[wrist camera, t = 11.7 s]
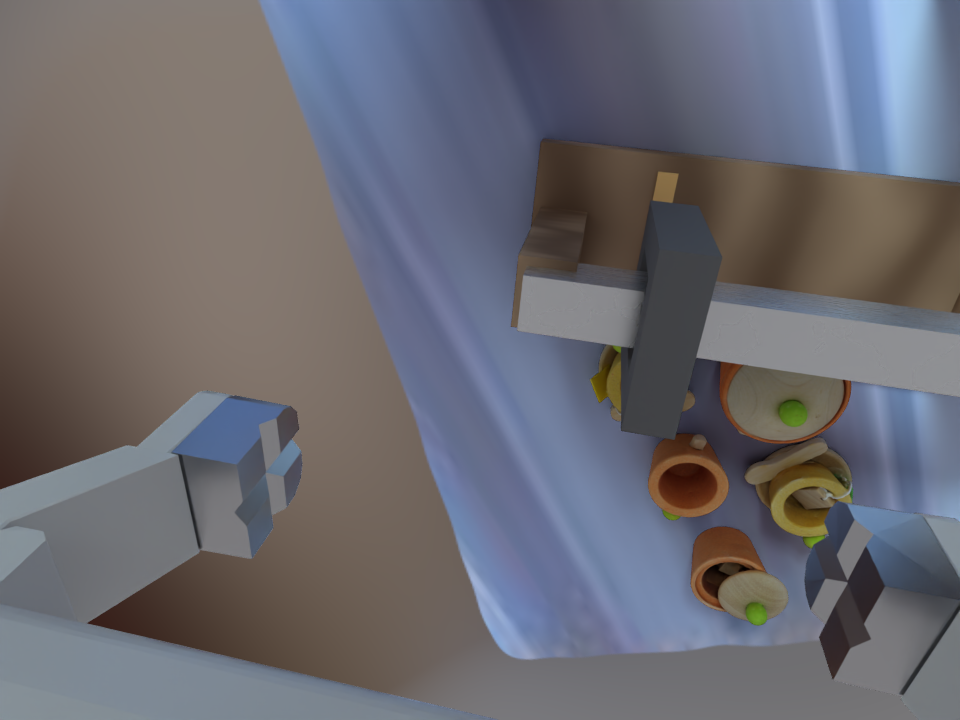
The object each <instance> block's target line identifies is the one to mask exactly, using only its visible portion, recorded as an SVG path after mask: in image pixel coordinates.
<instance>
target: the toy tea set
mask: <svg viewBox="0 0 960 720" xmlns="http://www.w3.org/2000/svg"><path fill="white" fill-rule="evenodd" d="M720 362H721V366H720V401H721V405H722V408H723V411H724V413H725V415H726V417H727V418H728V420H729V421H730V422H731V423H732V424H733V425H734V426H735V427H736V428H737V430H738V432H739V433H740V434H743V435H746V436H749V437H751V438H753V439H756V440H759V441H763V442H767V443H777V444H783V443H795V442H799V441H803V440H807V439H809V438H812V437H814V436H816V435H818V434H820V433H822V432H823V431H825V430H826V429H828V428H829V427H830V426H831V425H833V424H834V423H835V422H836V421H837V420H838V419H839V417H840V416H841V415H842V413H843V412H844V410H845V409H846V407H847V405H848V402H849V398H850V394H851V381H849V380H842V379H836V378H829V377H822V376H816V375H809V374H802V373H796V372H789V371H782V370H776V369H769V368H762V367H755V366H749V365H742V364H735V363H729V362H722V361H720ZM691 376H692V375H691ZM690 380H691V379H690ZM590 381H591V384H592V386H593V389H594V391H595V394H596V397H597V399H598V402H599V403H601V402H602V401H603V400H604V399H605V398H606V397H609V398H610V400H611V402H612V404H613V406H612V407H611V416H612V418H613V419H614V420H616V421H621V346H615V345H608V344H607V345H606V346H605V348H604V349H603V351H602V353H601V356H600V360H599V373H598V374H596V375H595V376H593V377H592V378H591V379H590ZM694 404H695V396H694V394H693V393H692V392H691V391H689V390H688V391H687V394H686V398H685V402H684V406H683V410H682V412H683V411H686V410H688V409H690V408H691V407H692V406H693V405H694ZM744 476H745V480H746V481H747V482H748V483H750V484H752V485H755V487H756V491H757V494H758V496H759V498H760V499H761V501H762V502H763V503H764V504H765V505H766V506H767V507H768V508H769V509H771V514H772V517H773V519H774V521H775V522H776V523H777V524H778V525H779V526H780V527H781V528H782V529H783V530H785V531H787V532H789V533H791V534H795V535H798V536H803V541H804V543H805V545H806V546H808V547H809V548H811V549H812V547H813V545H814V544H815V543H817V542H819V541H821V540H822V539H824V538H825V534H828V531H827V529H826V526H825V523H824V520H825V518H826V516H827V514H828V512H829V510H830V508H831V507H832V506H833V505H834V504H835V503H836V502H837V501H841V502H847V503H852V498H853V488H852V476H851V472H850V469H849V467H848V465H847V463H846V462H845V461H844V459H843V458H842V457H841V456H840V455H839V454H837V453H836V452H834V451H832V450H831V449H828V446H827V444H826V442H825V440H824V439H823V438H813V439H810V440H808V441H806V442H804V443H802V444H797V445H791V446H788V447H785V448H782V449H779V450H778V451H776V452H774V453H772V454H771V455H770V456H768V457H767V458H766V459H765V460H764V461H761V462H757V463H755V464H753V465H751V466H750V467H749V468H748V469H747V470H746V472H745V475H744ZM648 489H649V493H650V495H651V498H652V499H653V501H654V502H655V503H656V504H657V505H658V506H659V507H660V508H661V509H662V511H663V514H664V516H665V517H666V518H667V519H669V520H677V519H679V518H680V517H681V516H683V517H698V516H702V515H706V514H708V513H710V512H712V511H714V510H715V509H717V508H718V507H719V506H720V505H721V504H722V503H723V502H724V500H725V499H726V496H727V494H728V490H729V482H728V478H727V475H726V473H725V471H724V469H723V468H722V466H721V464H720V462H719V460H718V458H717V456H716V454H715V452H714V450H713V448H712V447H711V445H710V444H709V443H708V442H707V440H706V438H705V437H704V436H703V435H701V434H696V435H693V434H685V433H683V434H676V436H675V440H672V439H666V438H665V439H664V440H662V441H661V442H660V443H659V444H658V445H657V447H656V449H655V450H654V454H653V458H652V464H651V469H650V474H649V479H648ZM691 588H692V591H693V593H694V595H695V596H696V598H697V599H698V600H699V601H700V602H702V603H703V604H704V605H706V606H708V607H710V608H712V609H715V610H719V611H724V612H728V613H729V614H731V615H732V616H734V617H736V618H739V619H742V620H746V621H749V622H750V623H752V624H754V625H762V624H764V623H765V622H766V621H767V620H768V619H771V618H773V617H775V616H777V615H778V614H780V613H781V612H782V611H783V610H784V609H785V607H786V605H787V603H788V592H787V589H786V587H785V586H784V585H783V583H782V582H781V581H780V580H779V579H777V578H776V577H774V576H772V575H770V574H767V572H766V570H765V568H764V566H763V564H762V562H761V560H760V558H759V556H758V554H757V552H756V550H755V548H754V546H753V544H752V542H751V541H750V539H749V538H748V536H746V535H745V534H744V533H743V532H741V531H739V530H737V529H734V528H730V527H714V528H711V529H708V530H706V531H704V532H702V533H701V534H700V535H699V536H698V537H697V538H696V540H695V542H694V547H693V558H692V571H691Z"/></svg>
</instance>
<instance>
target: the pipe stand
mask: <svg viewBox="0 0 960 720" xmlns="http://www.w3.org/2000/svg"><path fill="white" fill-rule="evenodd" d="M650 200H652V201H661V202H669V203H678V204H686V205H695V206H699V208H700V210H701V213H702V215H703V217H704V219H705V221H706V223H707V225H708V227H709V230H710V232H711V234H712V236H713V238H714V240H715V242H716V244H717V247H718V249H719V251H720V253H721V255H722V261H721V265H720V269H719V272H718V276H717V280H716V284H715V288H714V292H713V295H712V299H711V303H710V307H709V311H708V314H707V318H706V322H705V326H704V330H703V333H702V337H701V341H700V345H699V349H698V353H697V356H696V358H702V359H709V360H715V361H722V362H729V363H735V364H742V365H749V366H755V367H762V368H769V369H776V370H782V371H789V372H796V373H802V374H809V375H816V376H822V377H829V378H836V379H842V380H849V381H856V382H863V383H869V384H876V385H883V386H889V387H896V388H903V389H909V390H916V391H923V392H930V393H936V394H943V395H950V396H956V397H960V183H959V182H950V181H940V180H931V179H921V178H912V177H903V176H893V175H884V174H874V173H865V172H855V171H846V170H836V169H827V168H818V167H808V166H799V165H789V164H780V163H770V162H761V161H751V160H742V159H733V158H723V157H714V156H704V155H695V154H685V153H676V152H666V151H657V150H648V149H638V148H629V147H619V146H610V145H600V144H591V143H581V142H572V141H563V140H553V139H544V138H543V139H542V141H541V144H540V153H539V162H538V171H537V179H536V188H535V197H534V206H533V215H532V224H531V229H530V231H529V234H528V236H527V238H526V240H525V242H524V244H523V246H522V249H521V251H520V253H519V255H518V264H517V274H516V283H515V293H514V302H513V312H512V321H511V327H517V331H521V332H528V333H534V334H541V335H548V336H554V337H561V338H568V339H575V340H581V341H588V342H595V343H601V344H608V345H615V346H621V347H628V348H634V345H635V340H636V335H637V331H638V326H639V321H640V316H641V312H642V307H643V302H644V297H645V292H646V288H647V283H648V272H642V271H637V266H638V261H639V256H640V251H641V246H642V241H643V236H644V231H645V226H646V221H647V215H648V210H649V205H650Z"/></svg>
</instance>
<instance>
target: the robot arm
mask: <svg viewBox="0 0 960 720" xmlns="http://www.w3.org/2000/svg"><path fill="white" fill-rule="evenodd" d="M298 430H299V424H298V417H297V412H296V410H294V409H293V408H292V407H291V406H287V405H281V404H276V403H271V402H266V401H261V400H256V399H251V398H246V397H240V396H232V395H229V394H224V393H218V392H213V391H202V392H198V393H197V394H195V395H194V396H193V397H192V398H191V399H190V400H189V401H188V402H187V403H185V404H184V405H183V406H182V407H181V408H180V409H179V410H178V411H177V412H175V413H174V414H173V415H172V416H171V417H170V418H169V419H167V420H166V421H165V422H164V423H163V424H162V425H161V426H160V427H159V428H157V429H156V430H155V431H154V432H153V433H152V434H151V435H150V436H149V437H147V438H146V439H145V440H144V441H143V442H142V443H141V444H140V445H138V446H137V447H133V446H128V445H127V446H124V447H121V448H118V449H116V450H113V451H110V452H107V453H104V454H101V455H99V456H96V457H93V458H90V459H87V460H84V461H82V462H78V463H76V464H73V465H70V466H67V467H64V468H62V469H59V470H56V471H53V472H50V473H47V474H44V475H41V476H39V477H36V478H33V479H30V480H27V481H24V482H22V483H19V484H16V485H13V486H10V487H7V488H4V489H1V490H0V720H497V719H493V718H489V717H485V716H480V715H476V714H472V713H467V712H463V711H459V710H455V709H451V708H446V707H442V706H437V705H433V704H428V703H425V702H421V701H416V700H412V699H408V698H403V697H399V696H395V695H391V694H386V693H382V692H378V691H373V690H369V689H364V688H361V687H356V686H352V685H348V684H343V683H339V682H335V681H330V680H326V679H321V678H318V677H313V676H309V675H305V674H301V673H296V672H292V671H288V670H283V669H279V668H275V667H271V666H266V665H262V664H258V663H253V662H249V661H245V660H240V659H236V658H232V657H228V656H223V655H219V654H215V653H210V652H206V651H202V650H198V649H193V648H189V647H185V646H180V645H176V644H172V643H168V642H163V641H159V640H155V639H150V638H146V637H142V636H138V635H133V634H129V633H124V632H120V631H116V630H112V629H107V628H103V627H99V626H94V625H90V624H86V623H87V622H89V621H91V620H92V619H94V618H95V617H97V616H99V615H100V614H102V613H103V612H105V611H107V610H108V609H110V608H111V607H113V606H115V605H116V604H118V603H119V602H121V601H123V600H124V599H126V598H127V597H129V596H131V595H132V594H134V593H135V592H137V591H139V590H140V589H142V588H143V587H145V586H146V585H148V584H150V583H151V582H153V581H155V580H156V579H158V578H159V577H161V576H163V575H164V574H166V573H167V572H169V571H171V570H172V569H174V568H175V567H177V566H179V565H180V564H182V563H183V562H185V561H186V560H188V559H190V558H191V557H193V556H195V555H196V554H198V553H199V550H204V551H210V552H216V553H222V554H227V555H233V556H239V557H244V558H249V559H252V558H253V557H254V555H255V554H256V552H257V551H258V549H259V548H260V546H261V545H262V544H263V542H264V541H265V539H266V538H267V536H268V535H269V533H270V532H271V530H272V529H273V522H272V515H273V514H275V513H277V512H279V511H281V510H283V509H285V508H287V506H288V505H289V503H290V502H291V500H292V499H293V497H294V496H295V493H296V490H297V487H298V485H299V482H300V479H301V471H302V454H301V450H300V449H299V448H298V447H297V445H296V444H295V443H294V441H293V440H292V438H293V436H294V435H295V434H296V432H297V431H298ZM824 523H825V526H826V529H827V531H828V534H829V536H828V537H826V538H824V539H822V540H821V541H819V542H817V543H815V544H814V545H813V547H812V550H811V552H810V555H809V557H808V560H807V563H806V572H805V590H806V597H807V600H808V603H809V607H810V610H811V611H812V612H813V613H814V614H815V615H816V616H817V617H818V618H819V619H820V620H821V621H822V622H823V623H824V624H825V626H824V628H823V630H822V632H821V634H820V636H819V639H820V642H821V645H822V648H823V651H824V655H825V658H826V661H827V664H828V667H829V670H830V673H831V676H832V679H833V681H837V682H841V683H845V684H850V685H854V686H859V687H862V688H867V689H871V690H875V691H879V692H884V693H888V694H892V695H896V696H901V697H902V698H901V701H902V702H903V703H904V704H905V705H906V706H907V708H908V709H909V710H910V711H911V712H912V713H913V714H914V715H915V717H916V718H917V719H918V720H960V522H959V521H958V520H956V519H955V518H948V517H941V516H934V515H927V514H920V513H914V514H912V513H906V512H900V511H894V510H888V509H882V508H876V507H871V506H865V505H859V504H853V503H847V502H841V501H837V502H836V503H835V504H834V505H833V506H832V507H831V508H830V510H829V512H828V514H827V516H826V518H825V520H824Z"/></svg>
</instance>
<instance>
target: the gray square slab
mask: <svg viewBox="0 0 960 720" xmlns="http://www.w3.org/2000/svg"><path fill="white" fill-rule="evenodd" d="M721 261H722V255H721V253H720V251H719V249H718V247H717V244H716V242H715V240H714V238H713V236H712V234H711V232H710V230H709V227H708V225H707V223H706V221H705V219H704V217H703V215H702V213H701V210H700V208H699V206H695V205H686V204H678V203H669V202H661V201H652V200H650V205H649V210H648V215H647V221H646V226H645V231H644V236H643V241H642V246H641V251H640V256H639V261H638V266H637V271H642V272H648V283H647V288H646V292H645V297H644V302H643V307H642V312H641V316H640V321H639V326H638V331H637V335H636V340H635V345H634V348H628V347H621V431H625V432H631V433H637V434H643V435H649V436H654V437H660V438H666V439H672V440H675V436H676V433H677V429H678V425H679V421H680V417H681V414H682V410H683V406H684V402H685V398H686V394H687V391H688V387H689V383H690V379H691V375H692V372H693V368H694V364H695V360H696V356H697V353H698V349H699V345H700V341H701V337H702V333H703V330H704V326H705V322H706V318H707V314H708V311H709V307H710V303H711V299H712V295H713V292H714V288H715V284H716V280H717V276H718V272H719V269H720V265H721Z"/></svg>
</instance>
